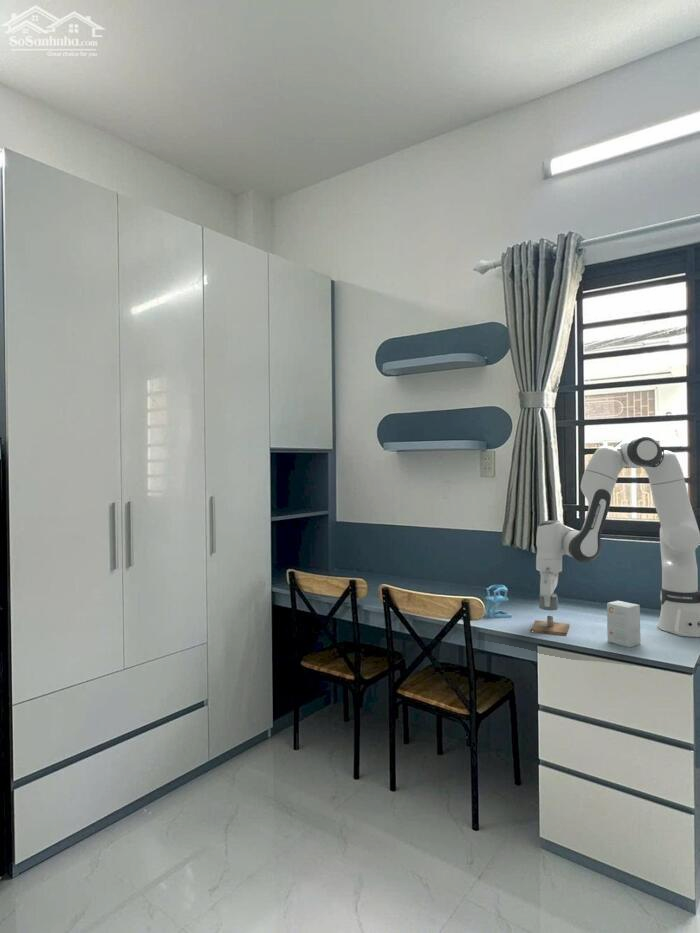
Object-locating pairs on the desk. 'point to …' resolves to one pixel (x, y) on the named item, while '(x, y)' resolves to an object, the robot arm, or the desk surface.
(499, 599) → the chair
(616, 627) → the small box
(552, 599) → the knob
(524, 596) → the desk surface
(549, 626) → the wooden peg board
